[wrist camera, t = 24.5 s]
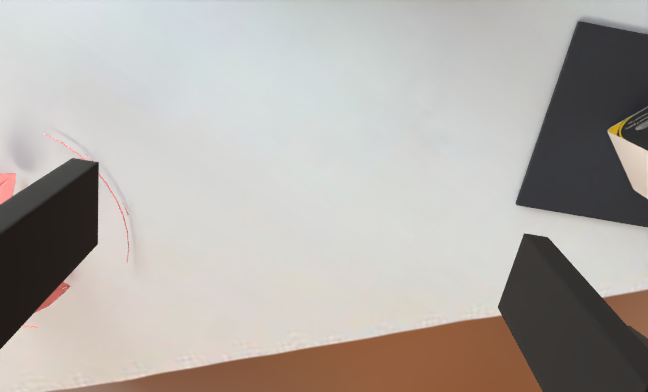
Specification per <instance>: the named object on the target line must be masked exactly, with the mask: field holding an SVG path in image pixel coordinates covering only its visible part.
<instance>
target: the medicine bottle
mask: <svg viewBox="0 0 648 392" xmlns="http://www.w3.org/2000/svg"><path fill="white" fill-rule="evenodd" d="M608 134H609V136H610V139H611V141H612V143H613V145H614V147H615V150H616V152H617V154H618V156H619V159H620V161H621V163H622V165H623V167H624V170H625V172H626V174H627V176H628V178H629V181H630V183H631V185H632V187H633V189H634V190H635V191H636V192H638V193H639V194H641V195H642V196H644V197H646V198H647V199H648V107H647V108H645V109H643V110H641V111H639V112H638V113H636V114H634V115H632V116H630V117H629V118H627V119H625V120H623V121H621V122H620V123H618V124H616V125H614V126H612V127H610V128H609V129H608Z"/></svg>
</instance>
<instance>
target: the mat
mask: <svg viewBox="0 0 648 392" xmlns="http://www.w3.org/2000/svg"><path fill="white" fill-rule="evenodd" d="M647 107H648V35H647V34H642V33H637V32H631V31H626V30H621V29H616V28H611V27H605V26H600V25H595V24H590V23H584V22H578V23H577V26H576V29H575V32H574V34H573V37H572V40H571V43H570V46H569V49H568V52H567V55H566V58H565V61H564V64H563V67H562V70H561V72H560V75H559V78H558V81H557V84H556V87H555V90H554V93H553V96H552V99H551V102H550V105H549V107H548V110H547V113H546V116H545V119H544V122H543V125H542V128H541V131H540V134H539V137H538V140H537V143H536V145H535V148H534V151H533V154H532V157H531V160H530V163H529V166H528V169H527V172H526V175H525V178H524V181H523V183H522V186H521V189H520V192H519V195H518V198H517V201H516V205H520V206H526V207H531V208H537V209H543V210H549V211H555V212H561V213H567V214H573V215H578V216H584V217H590V218H596V219H602V220H608V221H614V222H620V223H625V224H631V225H637V226H643V227H648V199H647V198H646V197H644V196H642V195H641V194H639V193H638V192H636V191H635V190H634V189H633V187H632V185H631V183H630V181H629V178H628V176H627V174H626V172H625V170H624V167H623V165H622V163H621V161H620V159H619V156H618V154H617V152H616V150H615V147H614V145H613V143H612V141H611V139H610V136H609V134H608V129H609V128H610V127H612V126H614V125H616V124H618V123H620V122H621V121H623V120H625V119H627V118H629V117H630V116H632V115H634V114H636V113H638V112H639V111H641V110H643V109H645V108H647Z"/></svg>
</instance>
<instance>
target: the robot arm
mask: <svg viewBox="0 0 648 392" xmlns="http://www.w3.org/2000/svg"><path fill="white" fill-rule="evenodd" d="M98 167H99V162H93V161H87V160H81V159H75V158H72V159H70V160H69V161H67V162H66V163H64V164H63V165H61V166H59V167H58V168H56V169H55V170H53V171H52V172H50V173H48V174H47V175H45V176H44V177H42V178H41V179H39V180H38V181H36V182H34V183H33V184H31V185H30V186H28V187H27V188H25V189H23V190H22V191H20V192H19V193H17V194H16V195H14V196H13V197H11V198H9V199H8V200H6V201H5V202H3V203H2V204H0V349H1V348H2V347H3V346H4V345H5V344H6V343H7V341H8V340H9V339H10V338H11V337H12V336H13V335H14V334H15V333H16V332H17V331H18V330H19V328H20V327H21V326H22V325H23V324H24V323H25V322H26V321H27V320H28V319H29V318H30V317H31V316H32V314H33V313H34V312H35V311H36V310H37V309H38V308H39V307H40V306H41V305H42V304H43V303H44V301H45V300H46V299H47V298H48V297H49V296H50V295H51V294H52V293H53V292H54V291H55V290H56V289H57V287H58V286H59V285H60V284H61V283H62V282H63V281H64V280H65V279H66V278H67V277H68V276H69V274H70V273H71V272H72V271H73V270H74V269H75V268H76V267H77V266H78V265H79V264H80V263H81V262H82V260H83V259H84V258H85V257H86V256H87V255H88V254H89V253H90V252H91V251H92V250H93V249H94V247H95V246H96V245H97V244H98ZM498 309H499V311H500V312H501V314H502V316H503V318H504V320H505V321H506V324H507V325H508V327H509V329H510V331H511V333H512V335H513V337H514V339H515V340H516V342H517V344H518V346H519V348H520V350H521V352H522V353H523V355H524V357H525V359H526V361H527V363H528V365H529V366H530V368H531V370H532V372H533V374H534V376H535V378H536V380H537V382H538V383H539V385H540V387H541V389H542V391H543V392H648V339H647V338H646V337H645V336H643V335H642V334H640V333H639V332H638V331H636V330H635V329H633V328H632V327H631V326H627V325H626V324H625V323H624V322H623V321H622V320H621V319H620V318H619V316H618V315H617V314H616V313H615V312H614V311H613V310H612V309H611V307H610V306H608V304H607V303H606V302H605V301H604V300H603V298H602V297H601V296H600V295H599V294H598V293H597V292H596V291H595V290H594V288H593V287H592V286H591V285H590V284H589V283H588V282H587V281H586V279H585V278H584V277H583V276H582V275H581V274H580V273H579V272H578V270H577V269H576V268H575V267H574V266H573V265H572V264H571V263H570V262H569V260H568V259H567V258H566V257H565V256H564V255H563V254H562V253H561V251H560V250H559V249H558V248H557V247H556V246H555V245H554V244H553V243H552V241H551V240H550V239H549V238H548V237H543V236H537V235H531V234H525V233H524V235H523V238H522V241H521V244H520V247H519V249H518V252H517V255H516V258H515V261H514V263H513V266H512V269H511V272H510V275H509V277H508V280H507V283H506V286H505V289H504V291H503V294H502V297H501V300H500V303H499V305H498Z"/></svg>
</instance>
